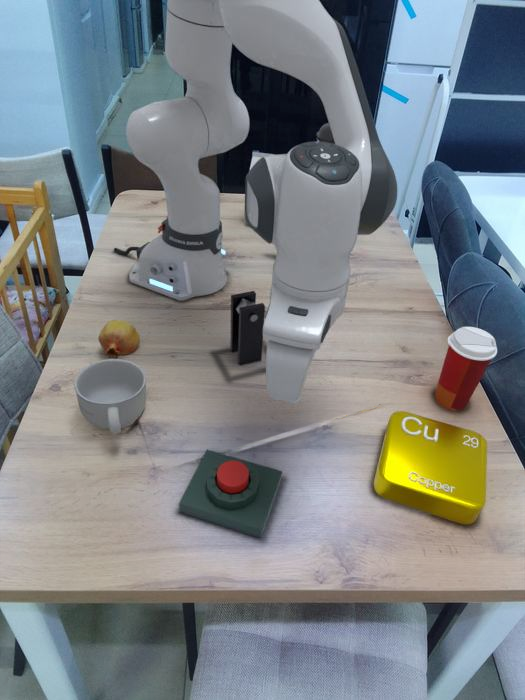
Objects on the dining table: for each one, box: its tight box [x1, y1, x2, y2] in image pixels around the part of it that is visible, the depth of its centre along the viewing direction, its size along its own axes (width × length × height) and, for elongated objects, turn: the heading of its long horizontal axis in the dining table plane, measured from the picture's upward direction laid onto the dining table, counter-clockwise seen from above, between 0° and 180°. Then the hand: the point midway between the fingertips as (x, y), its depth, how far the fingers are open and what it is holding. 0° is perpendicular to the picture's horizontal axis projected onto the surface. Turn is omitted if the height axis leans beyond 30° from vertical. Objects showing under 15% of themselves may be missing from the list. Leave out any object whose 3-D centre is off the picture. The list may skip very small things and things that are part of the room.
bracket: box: [229, 290, 266, 366], centre depth 92 cm, size 10×8×14 cm
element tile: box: [373, 410, 488, 525], centre depth 77 cm, size 15×15×5 cm
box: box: [178, 449, 283, 539], centre depth 72 cm, size 12×10×4 cm
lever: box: [236, 298, 268, 319], centre depth 92 cm, size 14×4×4 cm, turn 113°
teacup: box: [73, 358, 147, 435], centre depth 80 cm, size 14×11×8 cm
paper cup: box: [434, 326, 498, 412], centre depth 86 cm, size 8×8×14 cm
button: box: [217, 461, 249, 494], centre depth 70 cm, size 4×4×2 cm
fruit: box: [98, 319, 140, 359], centre depth 94 cm, size 7×7×10 cm
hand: (298, 378), depth 68 cm, fingers closed
